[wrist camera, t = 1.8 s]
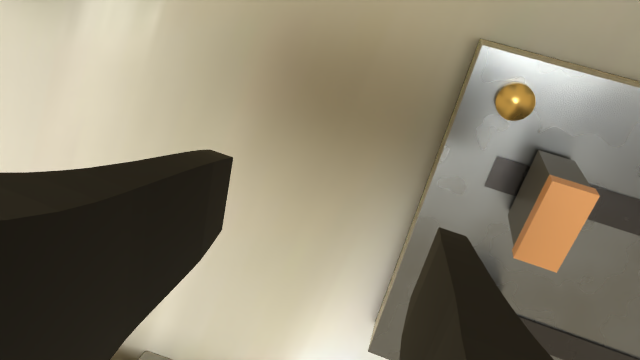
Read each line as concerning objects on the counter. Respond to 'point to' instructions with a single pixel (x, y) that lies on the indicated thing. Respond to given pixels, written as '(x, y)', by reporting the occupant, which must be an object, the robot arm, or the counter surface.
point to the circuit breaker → (152, 356)
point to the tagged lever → (550, 211)
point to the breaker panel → (504, 184)
